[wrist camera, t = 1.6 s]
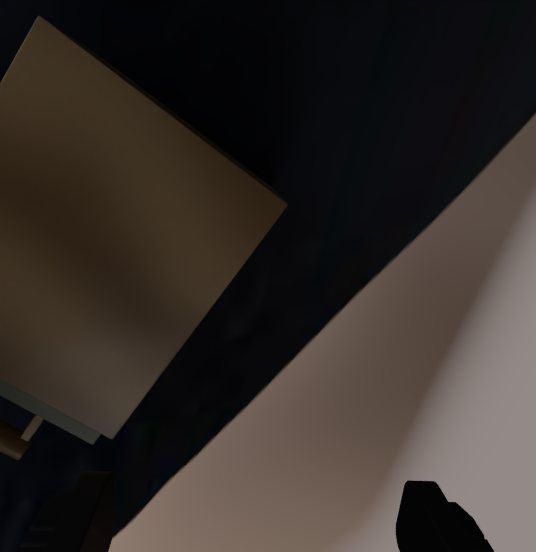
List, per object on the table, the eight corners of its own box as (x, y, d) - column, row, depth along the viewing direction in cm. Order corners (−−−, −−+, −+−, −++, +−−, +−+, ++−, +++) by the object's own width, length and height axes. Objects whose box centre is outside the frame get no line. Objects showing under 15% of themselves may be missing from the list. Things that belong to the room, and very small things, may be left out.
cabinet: (146, 360, 34) (111, 440, 25) (-17, 262, 31) (-128, 310, 22) (273, 188, 31) (288, 204, 22) (105, 60, 28) (37, 14, 19)
